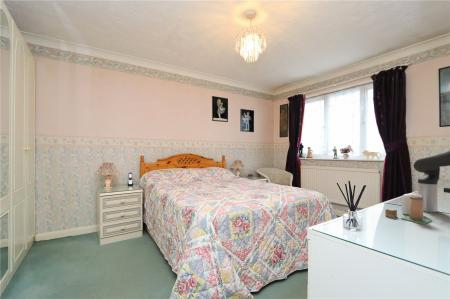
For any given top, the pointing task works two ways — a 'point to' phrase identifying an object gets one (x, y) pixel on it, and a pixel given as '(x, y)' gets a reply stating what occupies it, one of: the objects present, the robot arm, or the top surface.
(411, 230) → the top surface
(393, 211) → the letter block
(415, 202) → the canister
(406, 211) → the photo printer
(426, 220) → the green mat
